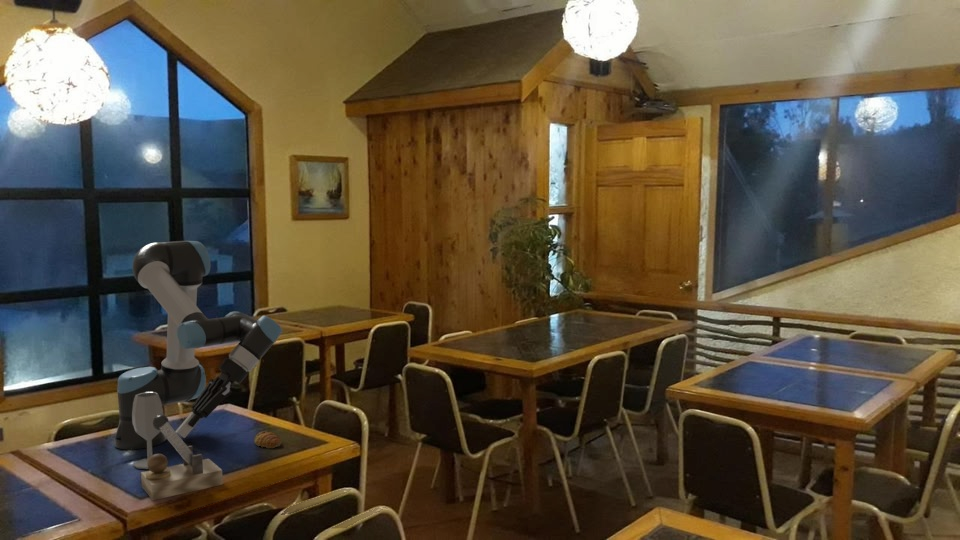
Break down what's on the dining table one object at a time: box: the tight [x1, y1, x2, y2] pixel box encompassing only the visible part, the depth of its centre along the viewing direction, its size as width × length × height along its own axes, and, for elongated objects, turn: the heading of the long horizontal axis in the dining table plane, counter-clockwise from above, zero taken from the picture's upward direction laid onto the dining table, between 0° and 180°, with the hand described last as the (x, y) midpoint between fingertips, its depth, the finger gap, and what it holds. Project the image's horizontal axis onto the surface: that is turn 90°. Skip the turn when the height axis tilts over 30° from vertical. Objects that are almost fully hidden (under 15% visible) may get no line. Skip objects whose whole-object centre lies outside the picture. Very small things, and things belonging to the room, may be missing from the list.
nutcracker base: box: [140, 445, 224, 501], centre depth 207 cm, size 18×12×10 cm, turn 126°
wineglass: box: [132, 392, 164, 470], centre depth 224 cm, size 9×9×21 cm
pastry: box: [253, 430, 282, 449], centre depth 242 cm, size 9×7×4 cm
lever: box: [153, 414, 195, 466], centre depth 206 cm, size 4×7×18 cm
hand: (180, 434), depth 206 cm, fingers closed
